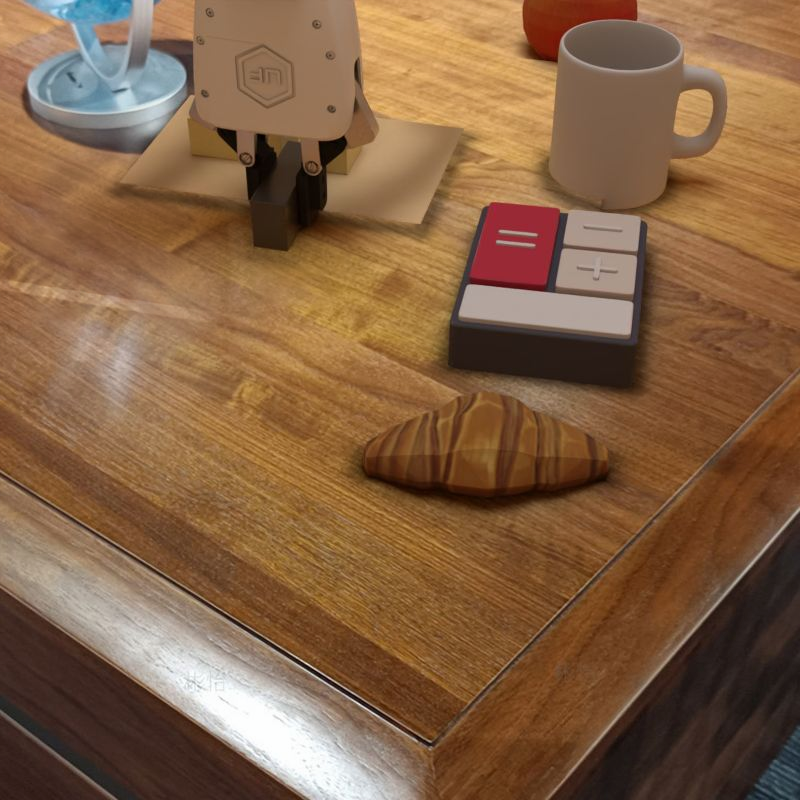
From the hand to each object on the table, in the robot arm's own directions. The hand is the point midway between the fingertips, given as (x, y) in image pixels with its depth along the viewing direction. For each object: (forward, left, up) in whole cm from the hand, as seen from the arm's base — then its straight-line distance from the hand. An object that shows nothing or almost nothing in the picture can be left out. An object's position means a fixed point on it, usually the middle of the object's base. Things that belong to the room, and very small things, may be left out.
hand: (288, 211), depth 92 cm
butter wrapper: (-2, +9, -2) cm, 9 cm away
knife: (0, +5, 0) cm, 5 cm away
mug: (+22, +13, -2) cm, 25 cm away
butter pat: (+1, +9, -1) cm, 9 cm away
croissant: (+18, -20, -2) cm, 27 cm away
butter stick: (-6, +9, -1) cm, 10 cm away
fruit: (+15, +33, -2) cm, 36 cm away
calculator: (+19, -4, -2) cm, 20 cm away
